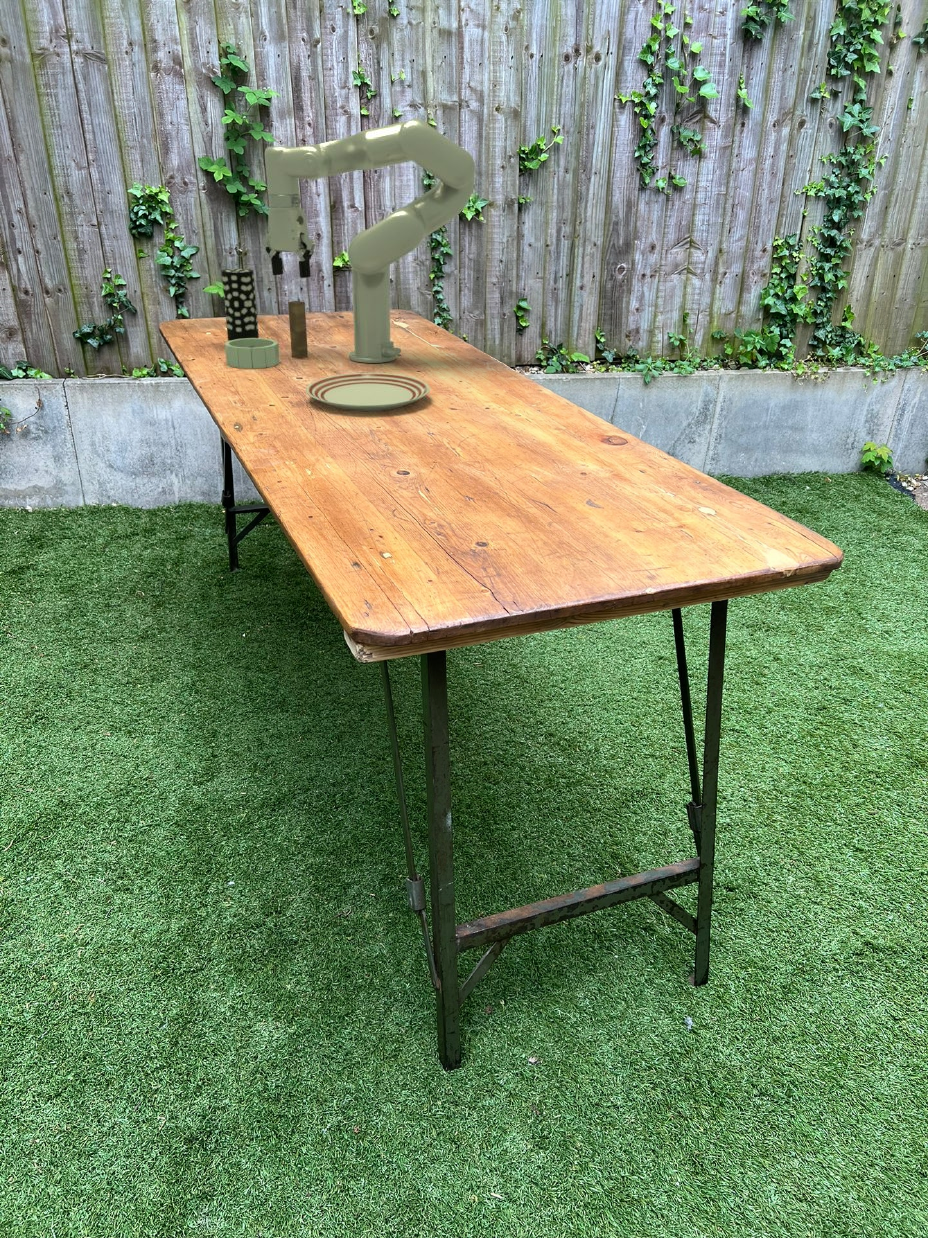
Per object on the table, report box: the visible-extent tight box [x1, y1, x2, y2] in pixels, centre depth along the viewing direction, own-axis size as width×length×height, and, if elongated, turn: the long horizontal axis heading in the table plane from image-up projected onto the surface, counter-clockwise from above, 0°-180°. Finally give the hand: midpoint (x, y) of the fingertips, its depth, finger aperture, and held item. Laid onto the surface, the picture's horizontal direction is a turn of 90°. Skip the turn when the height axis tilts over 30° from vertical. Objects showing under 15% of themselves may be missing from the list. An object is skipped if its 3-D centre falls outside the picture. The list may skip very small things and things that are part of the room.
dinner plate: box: [305, 372, 431, 412], centre depth 203 cm, size 28×27×3 cm
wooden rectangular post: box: [287, 300, 309, 359], centre depth 239 cm, size 3×3×14 cm
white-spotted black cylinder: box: [220, 268, 260, 342], centre depth 246 cm, size 8×8×20 cm
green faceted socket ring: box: [224, 337, 281, 370], centre depth 233 cm, size 13×13×5 cm
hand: (291, 275), depth 232 cm, fingers open, 9 cm apart
